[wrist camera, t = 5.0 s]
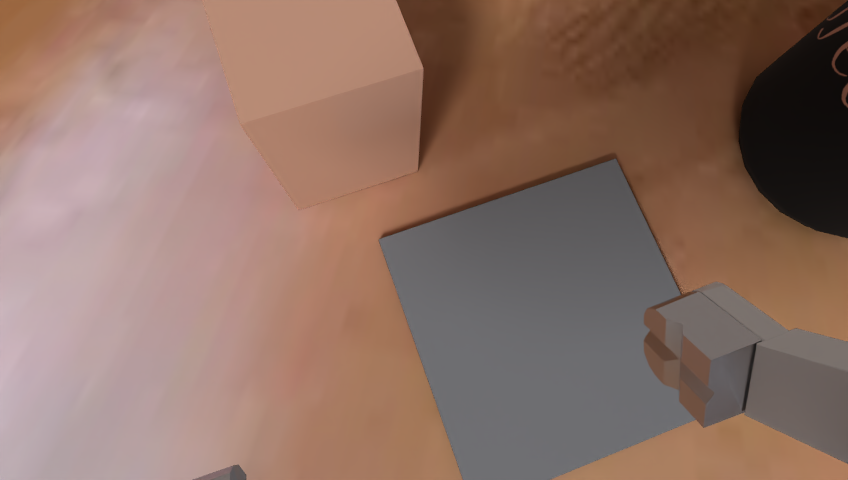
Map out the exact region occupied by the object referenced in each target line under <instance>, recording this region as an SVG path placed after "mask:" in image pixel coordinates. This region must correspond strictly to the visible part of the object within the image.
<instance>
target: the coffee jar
mask: <svg viewBox="0 0 848 480" xmlns="http://www.w3.org/2000/svg"><path fill="white" fill-rule="evenodd" d="M739 144H740V148H741V152H742V157H743V161H744V165H745V168H746V169H747V171H748V173H749V175H750V176H751V178H752V180H753V182H754V183H755V185H756V187H757V188H758V190H759V191H760V192H761V193H762V194H763V195H764V196H765V197H766V198H767V199H768V200H769V201H770V202H771V203H772V204H773V205H774V206H775V207H776V208H777V209H778V210H779V211H780V212H782V213H784V214H785V215H787V216H789V217H791V218H792V219H794V220H796V221H798V222H800V223H801V224H803V225H805V226H807V227H810V228H812V229H814V230H816V231H820V232H824V233H829V234H833V235H837V236H841V237H845V238H848V1H847V2H845V3H844V4H843V5H842V6H841V7H839V8H838V9H837V10H836V11H835V12H833V13H832V14H831V15H830V16H829V17H827V18H826V19H825V20H824V21H823V22H821V23H820V24H819V25H818V26H817V27H815V28H814V29H813V30H812V31H811V32H809V33H808V34H807V35H806V36H805V37H803V38H802V39H801V40H800V41H799V42H797V43H796V44H795V45H794V46H793V47H791V48H790V49H789V50H788V51H787V52H786V53H784V54H783V55H782V56H781V57H780V58H778V59H777V60H776V61H775V62H774V63H772V64H771V65H770V66H769V67H768V68H767V69H766V70H764V71H763V72H762V73H761V74H760V75H759V76H757V77H756V79H755V81H754V83H753V85H752V87H751V89H750V91H749V93H748V95H747V97H746V99H745V100H744V103H743V105H742V112H741V121H740V130H739Z"/></svg>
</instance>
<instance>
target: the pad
mask: <svg viewBox="0 0 848 480" xmlns="http://www.w3.org/2000/svg"><path fill="white" fill-rule="evenodd" d="M379 242H380V245H381V248H382V251H383V254H384V256H385V259H386V262H387V265H388V268H389V271H390V273H391V276H392V279H393V282H394V285H395V288H396V291H397V293H398V296H399V299H400V302H401V305H402V308H403V310H404V313H405V316H406V319H407V322H408V325H409V327H410V330H411V333H412V336H413V339H414V342H415V344H416V347H417V350H418V353H419V356H420V359H421V362H422V364H423V367H424V370H425V373H426V376H427V379H428V381H429V384H430V387H431V390H432V393H433V396H434V398H435V401H436V404H437V407H438V410H439V413H440V416H441V418H442V421H443V424H444V427H445V430H446V433H447V435H448V438H449V441H450V444H451V447H452V450H453V452H454V455H455V458H456V461H457V464H458V467H459V470H460V472H461V475H462V478H463V480H550V479H552V478H555V477H557V476H560V475H562V474H565V473H567V472H570V471H572V470H574V469H577V468H579V467H582V466H584V465H587V464H589V463H591V462H594V461H596V460H599V459H601V458H604V457H606V456H608V455H611V454H613V453H616V452H618V451H621V450H623V449H625V448H628V447H630V446H633V445H635V444H638V443H640V442H643V441H645V440H647V439H650V438H652V437H655V436H657V435H660V434H662V433H664V432H667V431H669V430H672V429H674V428H677V427H679V426H681V425H684V424H686V423H689V422H691V421H694V420H696V419H695V418H694V417H693V416H692V415H691V414H690V413H689V412H688V411H687V409H686V408H685V407H684V406H683V405H682V404H681V403H680V402H679V393H678V390H677V389H674V388H672V387H669V386H666V385H664V384H663V383H662V382H661V381H660V380H659V379H658V378H657V377H656V375H655V374H654V373H653V371H652V369H651V368H650V366H649V364H648V362H647V359H646V356H645V354H644V339H645V337H646V335H647V334H648V332H649V331H650V329H649V328H648V327H647V326H646V325H645V324H644V313H645V311H646V309H647V308H649V307H652V306H654V305H657V304H659V303H662V302H664V301H667V300H669V299H672V298H674V297H677V296H680V295H681V294H680V292H679V289H678V287H677V285H676V283H675V281H674V279H673V277H672V275H671V273H670V271H669V269H668V266H667V264H666V262H665V260H664V258H663V256H662V254H661V252H660V250H659V248H658V245H657V243H656V241H655V239H654V237H653V235H652V233H651V231H650V229H649V227H648V225H647V222H646V220H645V218H644V216H643V214H642V212H641V210H640V208H639V206H638V204H637V202H636V199H635V197H634V195H633V193H632V191H631V189H630V187H629V185H628V183H627V181H626V178H625V176H624V174H623V172H622V170H621V168H620V166H619V164H618V162H617V160H616V159H613V160H610V161H607V162H604V163H601V164H598V165H595V166H593V167H590V168H587V169H584V170H581V171H578V172H575V173H572V174H569V175H566V176H563V177H560V178H557V179H554V180H551V181H549V182H546V183H543V184H540V185H537V186H534V187H531V188H528V189H525V190H522V191H519V192H516V193H513V194H510V195H507V196H505V197H502V198H499V199H496V200H493V201H490V202H487V203H484V204H481V205H478V206H475V207H472V208H469V209H466V210H463V211H461V212H458V213H455V214H452V215H449V216H446V217H443V218H440V219H437V220H434V221H431V222H428V223H425V224H422V225H419V226H417V227H414V228H411V229H408V230H405V231H402V232H399V233H396V234H393V235H390V236H387V237H384V238H381V239H379Z"/></svg>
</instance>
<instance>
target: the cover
mask: <svg viewBox="0 0 848 480" xmlns="http://www.w3.org/2000/svg"><path fill="white" fill-rule="evenodd" d="M202 2H203V5H204V8H205V11H206V15H207V18H208V21H209V24H210V28H211V31H212V34H213V38H214V41H215V44H216V47H217V51H218V54H219V57H220V61H221V64H222V67H223V70H224V74H225V77H226V80H227V83H228V87H229V90H230V93H231V97H232V100H233V103H234V106H235V110H236V113H237V116H238V120H239V123H240V125H241V127H242V128H243V130H244V131H245V132H246V134H247V135H248V137H249V138H250V140H251V141H252V143H253V144H254V146H255V147H256V149H257V150H258V152H259V153H260V154H261V156H262V157H263V159H264V160H265V162H266V163H267V165H268V166H269V168H270V169H271V171H272V172H273V174H274V175H275V176H276V178H277V179H278V181H279V182H280V184H281V185H282V187H283V188H284V190H285V191H286V193H287V194H288V196H289V197H290V198H291V200H292V201H293V203H294V204H295V206H296V207H297V209H298V210H301V209H304V208H307V207H310V206H313V205H316V204H319V203H322V202H325V201H328V200H331V199H335V198H338V197H341V196H344V195H347V194H350V193H353V192H356V191H359V190H362V189H365V188H368V187H371V186H374V185H377V184H380V183H383V182H386V181H389V180H392V179H395V178H398V177H402V176H405V175H408V174H411V173H414V172H417V171H418V160H419V142H420V124H421V106H422V88H423V70H424V68H423V66H422V63H421V61H420V58H419V56H418V53H417V51H416V48H415V46H414V43H413V41H412V38H411V36H410V33H409V31H408V28H407V26H406V23H405V21H404V19H403V16H402V14H401V11H400V9H399V6H398V4H397V1H396V0H202Z"/></svg>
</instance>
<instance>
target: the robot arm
mask: <svg viewBox="0 0 848 480" xmlns="http://www.w3.org/2000/svg"><path fill="white" fill-rule="evenodd" d="M644 324H645V325H646V326H647V327H648V328H649V329H650V331H649V332H648V334H647V335H646V337H645V339H644V354H645V356H646V359H647V362H648V364H649V366H650V368H651V369H652V371H653V373H654V374H655V375H656V377H657V378H658V379H659V380H660V381H661V382H662V383H663V384H664V385H666V386H669V387H672V388H674V389H677V390H678V393H679V402H680V403H681V404H682V405H683V406H684V407H685V408H686V409H687V411H688V412H689V413H690V414H691V415H692V416H693V417H694V418H695V419H696V420H697V421H698V422H699V423H700V425H701V426H702V427H703V428H704V427H707V426H710V425H712V424H715V423H718V422H720V421H723V420H726V419H728V418H731V417H734V416H736V415H739V414H741V413H744V412H745V415H746V416H748V417H750V418H752V419H754V420H756V421H758V422H761V423H763V424H765V425H767V426H769V427H771V428H773V429H775V430H777V431H780V432H782V433H784V434H786V435H788V436H790V437H792V438H794V439H796V440H799V441H801V442H803V443H805V444H807V445H809V446H811V447H813V448H815V449H818V450H820V451H822V452H824V453H826V454H828V455H830V456H832V457H834V458H837V459H839V460H841V461H843V462H845V463H847V464H848V342H847V341H843V340H839V339H835V338H831V337H827V336H824V335H820V334H816V333H812V332H808V331H804V330H801V329H797V328H796V329H793V330H790V331H788V330H787V329H786V328H784V327H783V326H782V325H780V324H779V323H777V322H776V321H775V320H773V319H772V318H770V317H769V316H768V315H766V314H765V313H764V312H762V311H761V310H759V309H758V308H757V307H755V306H754V305H753V304H751V303H750V302H748V301H747V300H746V299H744V298H743V297H741V296H740V295H739V294H737V293H736V292H735V291H733V290H732V289H730V288H729V287H728V286H726V285H725V284H723V283H719V282H714V283H712V284H709V285H706V286H704V287H701V288H698V289H696V290H693V291H692V292H687V293H685V294H682V295H680V296H677V297H674V298H672V299H669V300H667V301H664V302H662V303H659V304H657V305H654V306H652V307H649V308H647V309H646V311H645V313H644ZM193 480H246V474H245V473H244V471H243V470H242V469H241V467H240V466H239V465H233V466H230V467H228V468H225V469H222V470H219V471H216V472H213V473H210V474H208V475H205V476H202V477H199V478H196V479H193Z"/></svg>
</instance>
